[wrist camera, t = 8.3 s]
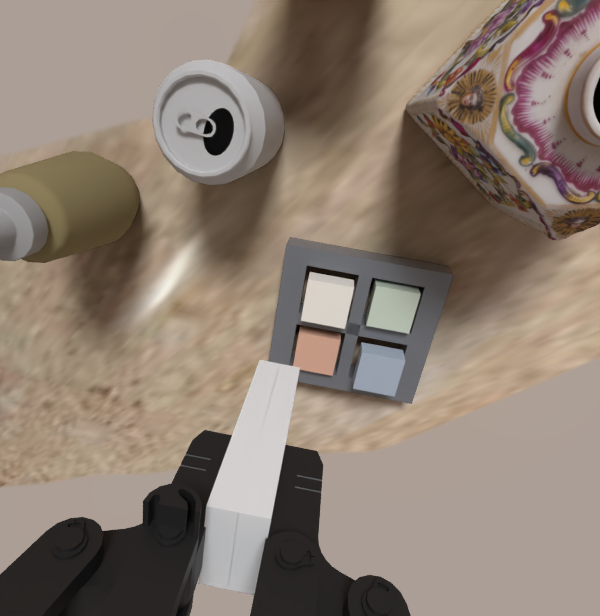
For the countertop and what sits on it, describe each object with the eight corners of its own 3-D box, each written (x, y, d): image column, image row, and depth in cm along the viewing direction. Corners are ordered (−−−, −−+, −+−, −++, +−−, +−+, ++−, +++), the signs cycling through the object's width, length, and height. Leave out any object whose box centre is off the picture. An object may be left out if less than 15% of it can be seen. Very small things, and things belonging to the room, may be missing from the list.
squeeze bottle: (69, 138, 39) (-132, 149, 23) (155, 160, 39) (16, 187, 23) (69, 224, 42) (-107, 288, 26) (148, 244, 42) (22, 321, 26)
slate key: (352, 371, 44) (352, 388, 41) (361, 336, 42) (362, 352, 39) (391, 378, 43) (394, 396, 41) (401, 344, 42) (405, 360, 39)
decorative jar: (489, 208, 38) (599, 273, 21) (399, 109, 36) (444, 98, 19) (615, 97, 34) (872, 72, 17) (523, -23, 31) (717, -184, 15)
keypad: (270, 362, 46) (266, 375, 44) (290, 237, 41) (286, 244, 38) (408, 389, 46) (411, 403, 44) (447, 266, 40) (453, 275, 38)
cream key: (304, 306, 41) (300, 320, 38) (311, 267, 40) (308, 279, 37) (344, 314, 41) (344, 328, 38) (353, 275, 40) (354, 287, 37)
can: (268, 183, 39) (237, 207, 28) (190, 149, 38) (128, 159, 27) (299, 99, 36) (279, 88, 25) (216, 60, 35) (157, 32, 24)
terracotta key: (296, 352, 45) (292, 368, 42) (302, 318, 44) (299, 332, 41) (333, 359, 45) (332, 375, 42) (341, 325, 43) (340, 340, 41)
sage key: (364, 312, 43) (366, 325, 40) (374, 274, 41) (376, 285, 38) (404, 319, 42) (409, 333, 40) (415, 282, 41) (420, 294, 38)
